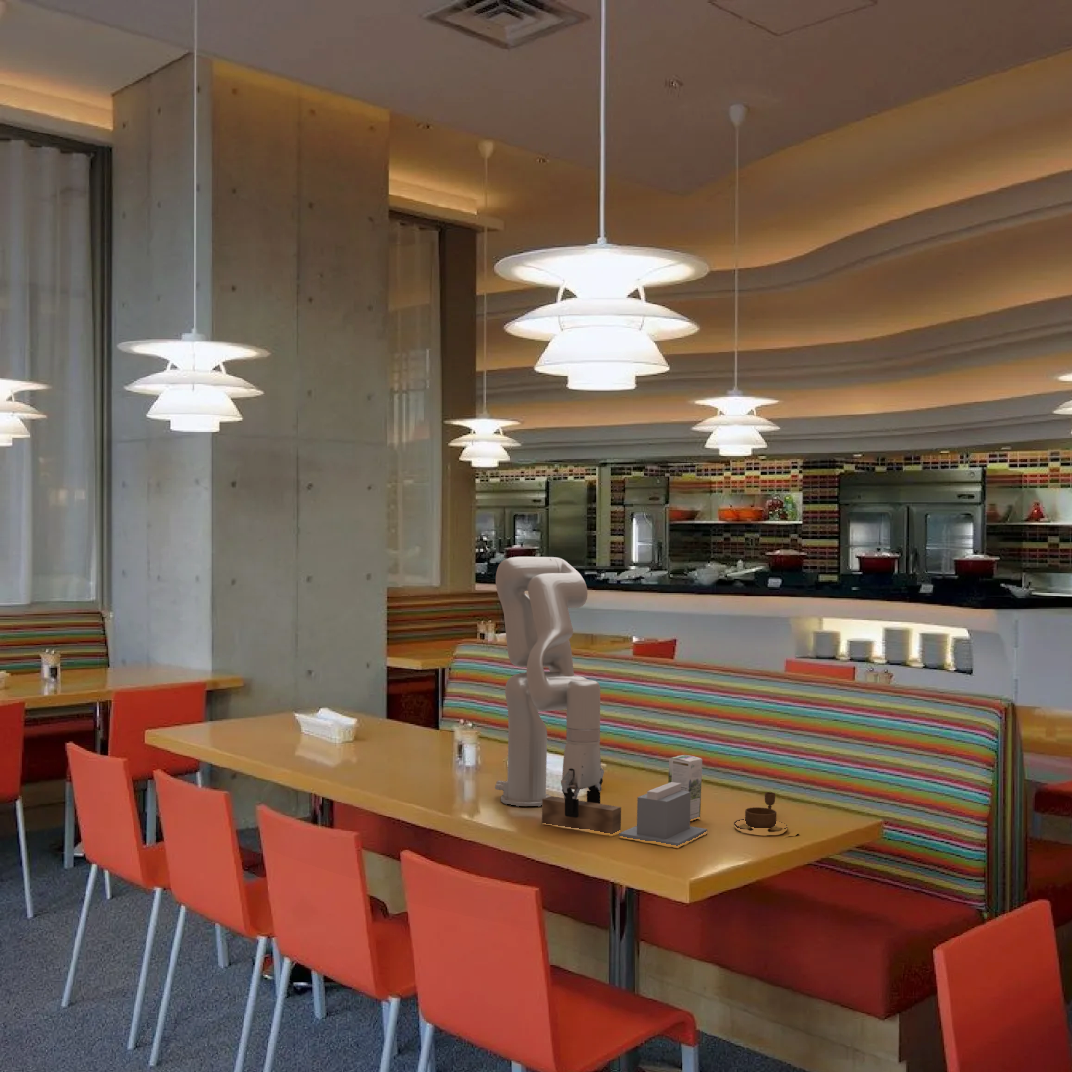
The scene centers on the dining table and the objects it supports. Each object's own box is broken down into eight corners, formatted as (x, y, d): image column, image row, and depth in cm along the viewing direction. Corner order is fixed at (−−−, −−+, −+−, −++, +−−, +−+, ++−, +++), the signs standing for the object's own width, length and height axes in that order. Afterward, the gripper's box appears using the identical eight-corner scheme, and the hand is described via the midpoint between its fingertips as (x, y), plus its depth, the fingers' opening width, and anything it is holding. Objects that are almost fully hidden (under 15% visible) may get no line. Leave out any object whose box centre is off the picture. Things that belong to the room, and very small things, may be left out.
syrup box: (679, 815, 279) (681, 753, 279) (701, 819, 275) (702, 757, 275) (666, 819, 274) (667, 757, 274) (688, 824, 271) (689, 760, 270)
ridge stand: (619, 838, 256) (620, 788, 256) (650, 825, 269) (651, 777, 269) (677, 849, 249) (678, 797, 249) (707, 834, 261) (708, 785, 261)
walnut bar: (541, 825, 267) (542, 799, 267) (551, 822, 270) (551, 796, 270) (611, 838, 257) (612, 810, 257) (620, 834, 261) (621, 807, 261)
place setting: (712, 828, 269) (712, 802, 269) (766, 815, 283) (766, 790, 283) (775, 844, 256) (775, 817, 256) (828, 830, 270) (829, 804, 269)
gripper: (587, 730, 273) (587, 804, 273) (548, 739, 258) (548, 817, 258) (616, 732, 269) (616, 808, 269) (578, 741, 254) (577, 821, 254)
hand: (582, 812), depth 263 cm, fingers open, 9 cm apart
